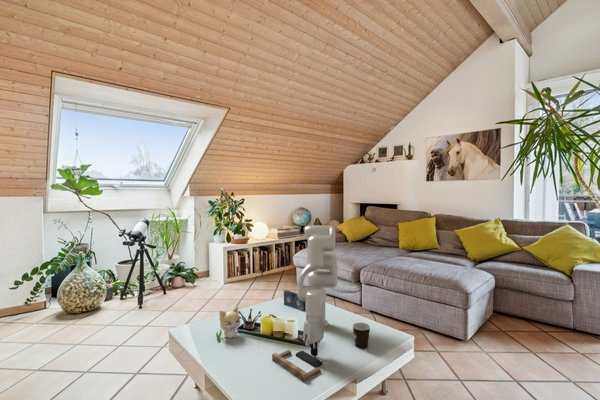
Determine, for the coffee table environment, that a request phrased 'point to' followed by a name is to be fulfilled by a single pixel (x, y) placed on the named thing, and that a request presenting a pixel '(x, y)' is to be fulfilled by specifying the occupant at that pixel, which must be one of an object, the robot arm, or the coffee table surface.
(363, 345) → the coffee mug
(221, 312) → the kitten
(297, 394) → the coffee table surface
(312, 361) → the remote control
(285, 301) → the vhs cassette tape
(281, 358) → the walnut frame
